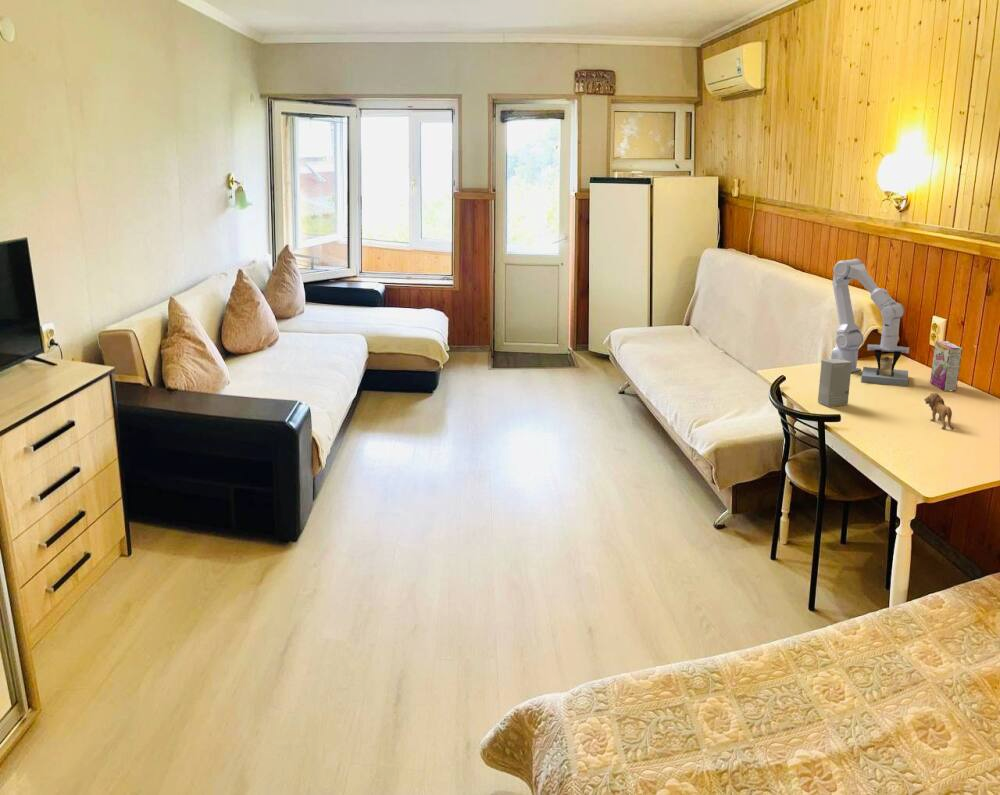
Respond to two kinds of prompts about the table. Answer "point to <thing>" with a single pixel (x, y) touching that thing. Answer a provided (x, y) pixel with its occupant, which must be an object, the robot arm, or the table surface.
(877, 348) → the robot arm
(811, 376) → the table surface
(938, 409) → the lion figurine
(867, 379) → the socket plate
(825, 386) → the skincare box
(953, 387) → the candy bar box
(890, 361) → the keyed plug
